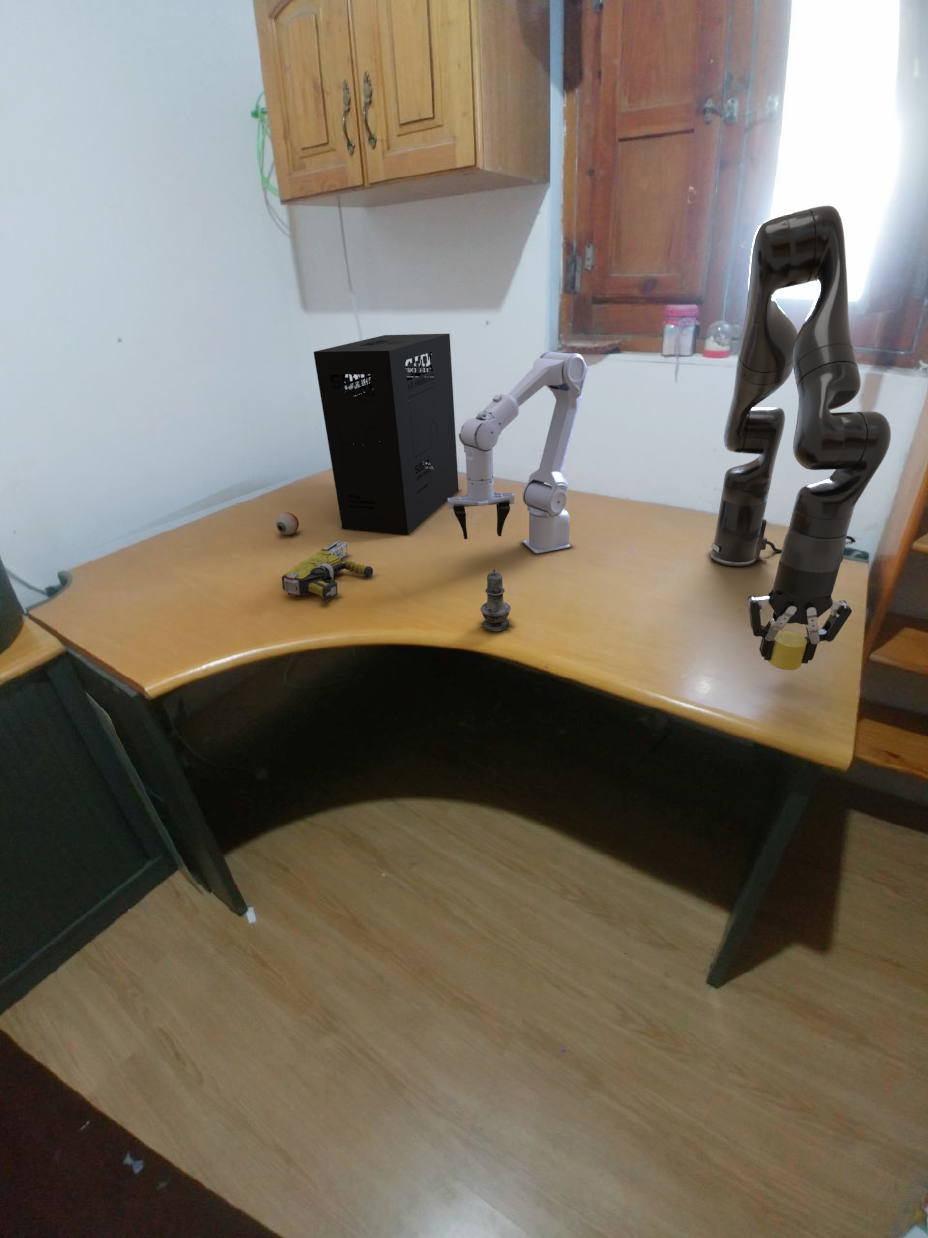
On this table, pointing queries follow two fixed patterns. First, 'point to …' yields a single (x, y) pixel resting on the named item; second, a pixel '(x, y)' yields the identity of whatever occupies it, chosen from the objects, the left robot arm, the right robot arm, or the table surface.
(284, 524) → the eyeball
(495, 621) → the grey tall turned piece
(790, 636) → the tin
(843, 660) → the table surface
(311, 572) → the toy gun
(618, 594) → the table surface
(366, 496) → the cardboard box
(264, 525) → the table surface
